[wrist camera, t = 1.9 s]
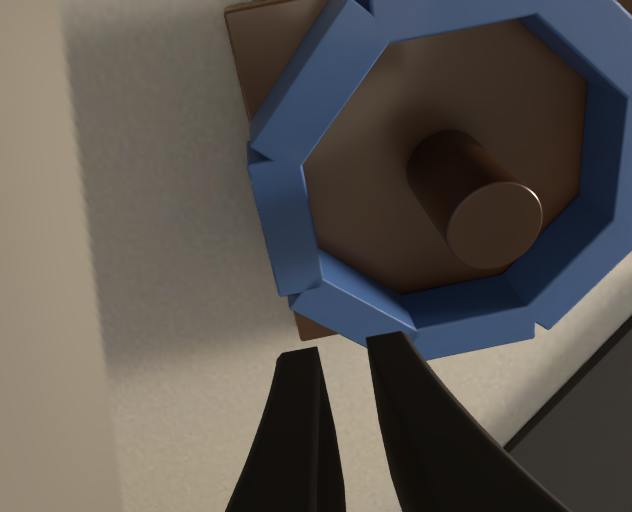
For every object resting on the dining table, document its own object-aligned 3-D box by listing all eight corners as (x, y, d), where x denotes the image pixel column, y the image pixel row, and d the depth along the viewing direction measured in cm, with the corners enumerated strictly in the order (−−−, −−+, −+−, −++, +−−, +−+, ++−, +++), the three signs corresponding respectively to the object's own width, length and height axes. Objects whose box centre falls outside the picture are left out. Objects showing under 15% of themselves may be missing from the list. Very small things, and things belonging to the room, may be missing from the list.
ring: (296, 348, 20) (301, 387, 18) (213, 4, 14) (208, 14, 12) (609, 283, 20) (643, 316, 18) (652, -84, 14) (708, -86, 13)
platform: (298, 325, 21) (313, 428, 16) (223, 7, 15) (216, 37, 11) (589, 265, 21) (678, 352, 17) (621, -73, 15) (768, -74, 11)
